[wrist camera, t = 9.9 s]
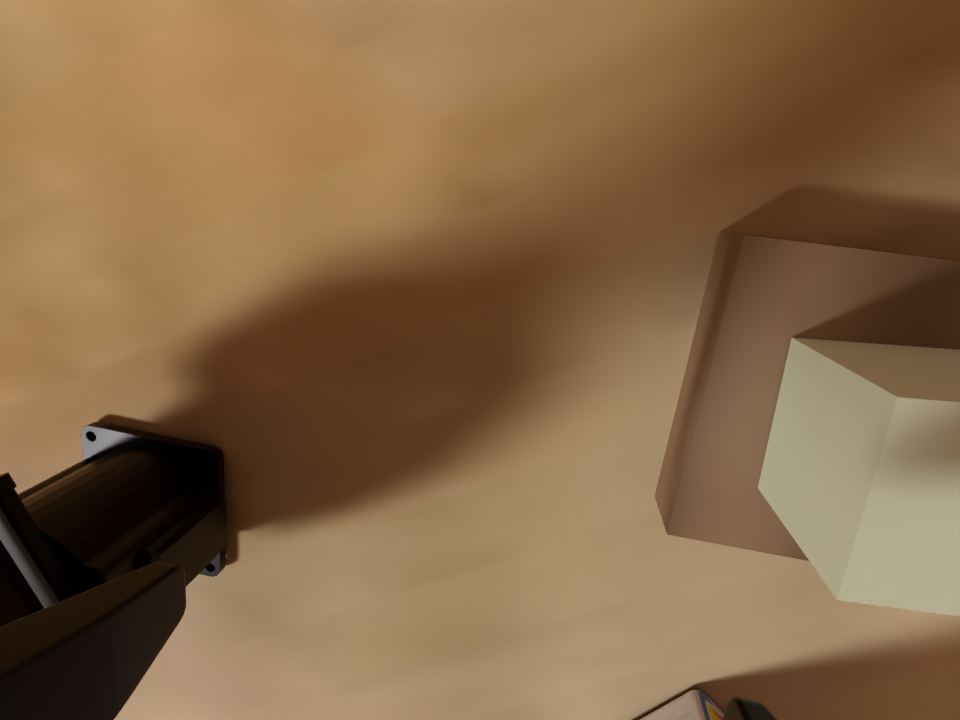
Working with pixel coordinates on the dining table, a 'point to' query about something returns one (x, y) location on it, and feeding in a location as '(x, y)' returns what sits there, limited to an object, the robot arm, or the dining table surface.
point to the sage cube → (871, 469)
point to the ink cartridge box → (688, 708)
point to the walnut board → (780, 366)
